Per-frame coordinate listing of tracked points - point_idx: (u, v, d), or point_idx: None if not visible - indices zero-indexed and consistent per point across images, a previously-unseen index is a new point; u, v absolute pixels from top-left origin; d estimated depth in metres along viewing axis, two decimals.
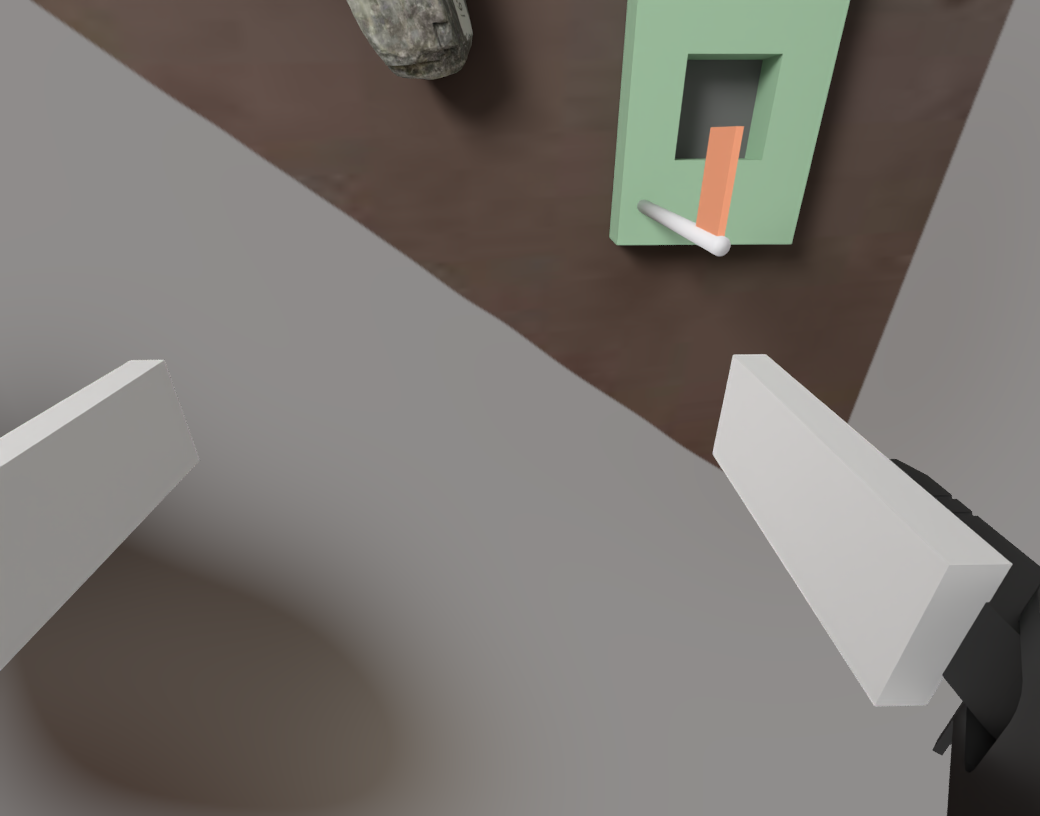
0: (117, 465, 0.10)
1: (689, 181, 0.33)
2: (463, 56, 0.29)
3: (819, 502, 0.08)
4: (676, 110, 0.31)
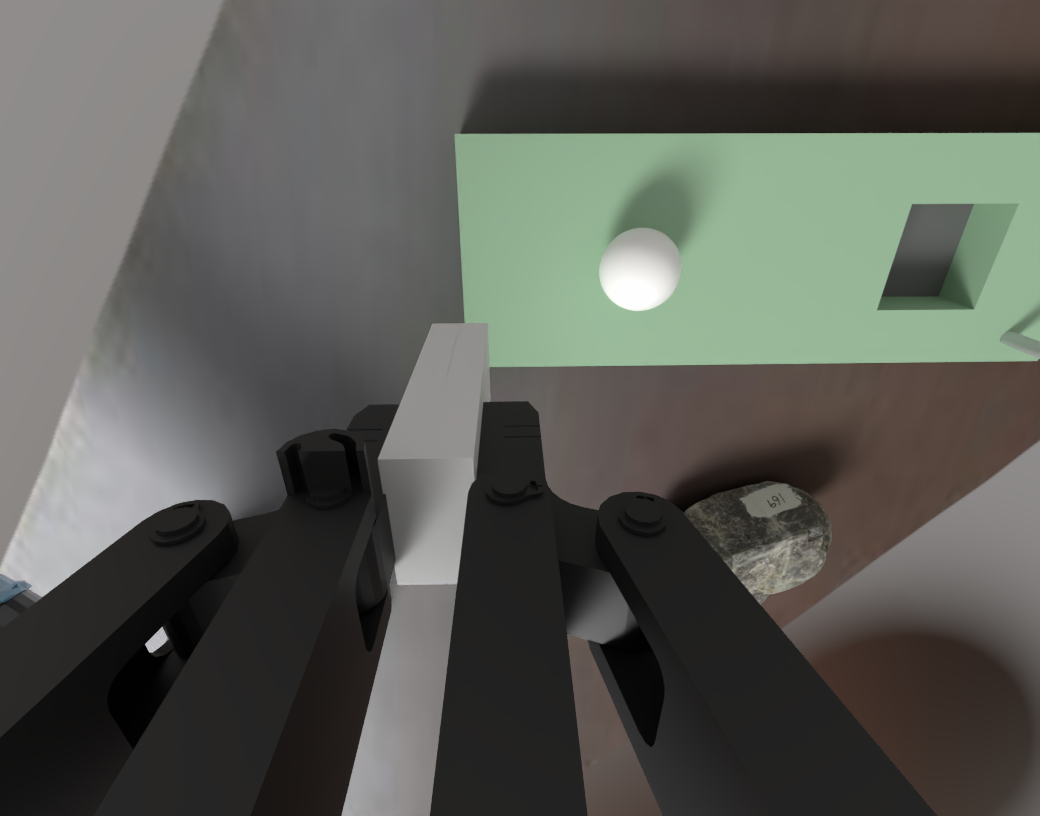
0: None
1: (1004, 289, 0.28)
2: (817, 506, 0.35)
3: None
4: (925, 314, 0.29)
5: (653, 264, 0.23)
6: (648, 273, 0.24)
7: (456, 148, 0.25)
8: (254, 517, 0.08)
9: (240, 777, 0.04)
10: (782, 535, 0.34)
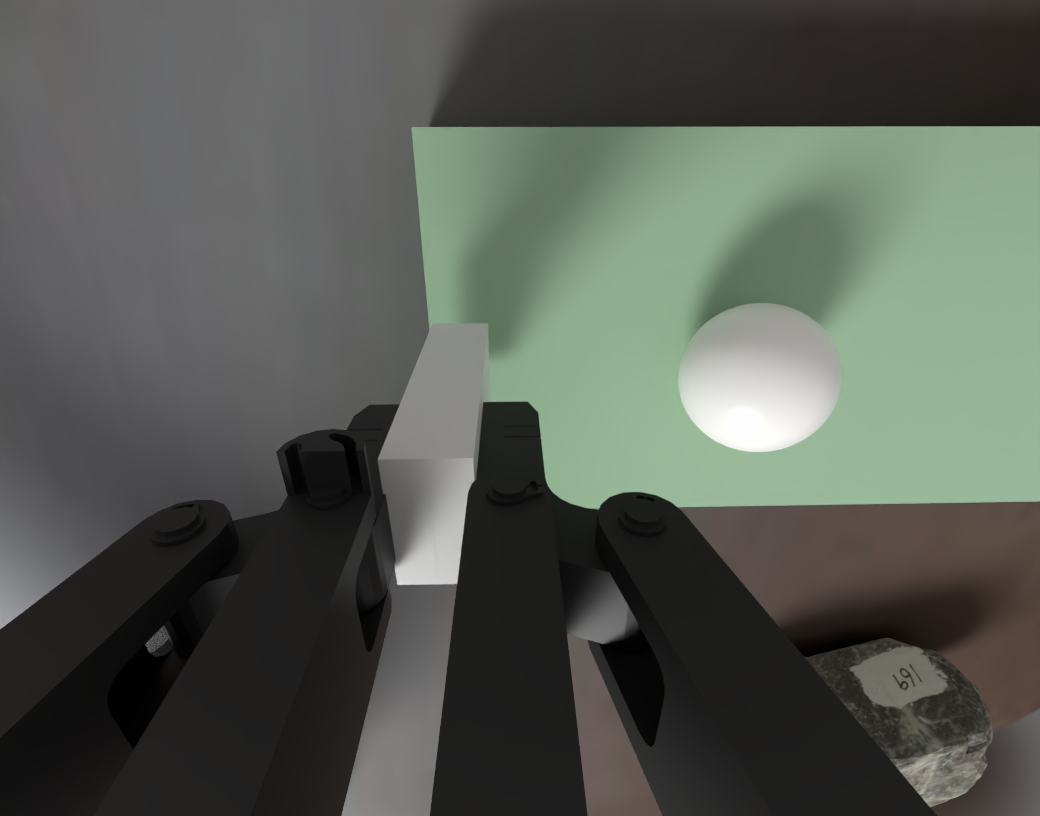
0: None
1: None
2: (972, 691, 0.23)
3: None
4: None
5: (801, 384, 0.12)
6: (790, 401, 0.12)
7: (416, 154, 0.13)
8: (254, 517, 0.08)
9: (240, 777, 0.04)
10: (927, 744, 0.22)
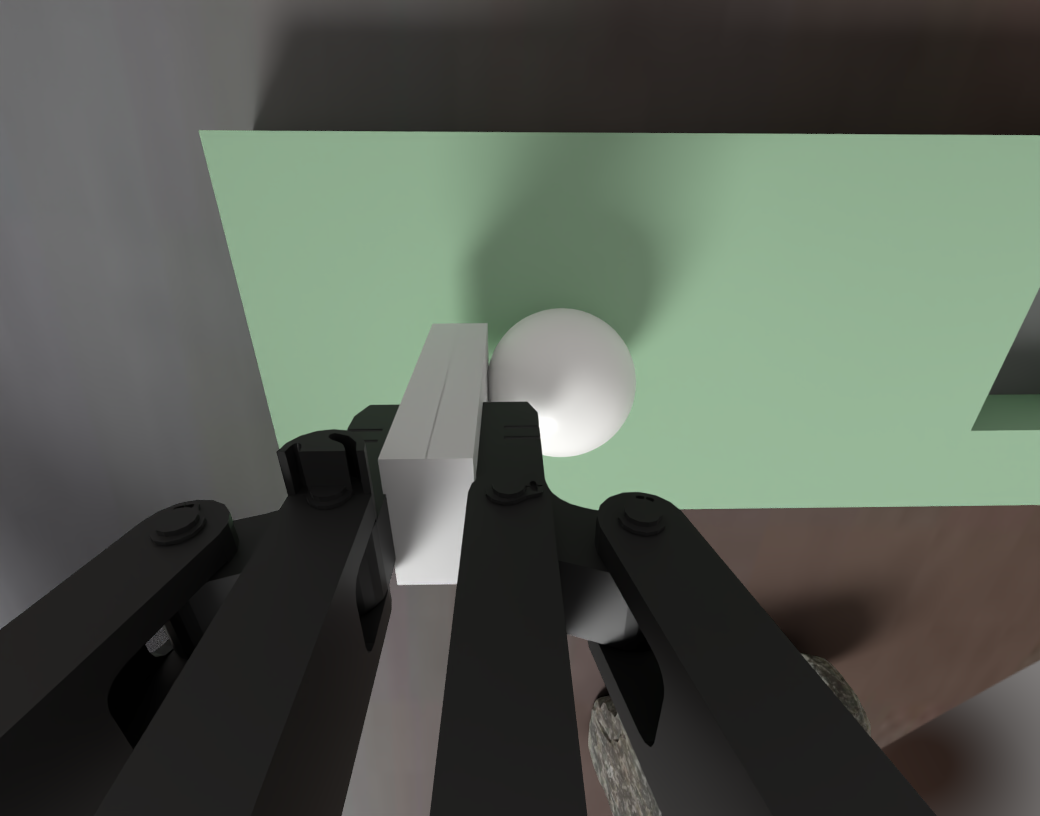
0: None
1: None
2: (851, 699, 0.24)
3: None
4: None
5: (576, 390, 0.12)
6: (565, 407, 0.12)
7: (207, 158, 0.13)
8: (254, 517, 0.08)
9: (242, 776, 0.04)
10: None
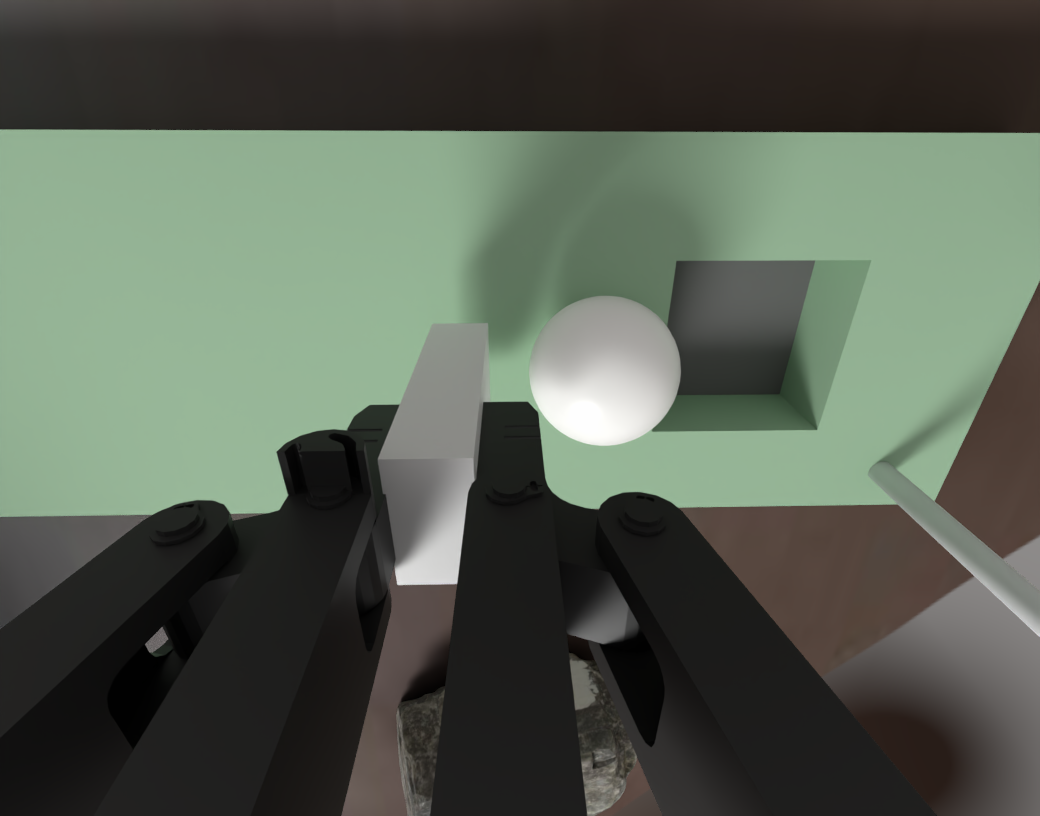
0: None
1: (864, 399, 0.17)
2: None
3: None
4: (735, 437, 0.17)
5: (598, 376, 0.12)
6: (586, 391, 0.12)
7: None
8: (254, 517, 0.08)
9: (241, 778, 0.04)
10: None
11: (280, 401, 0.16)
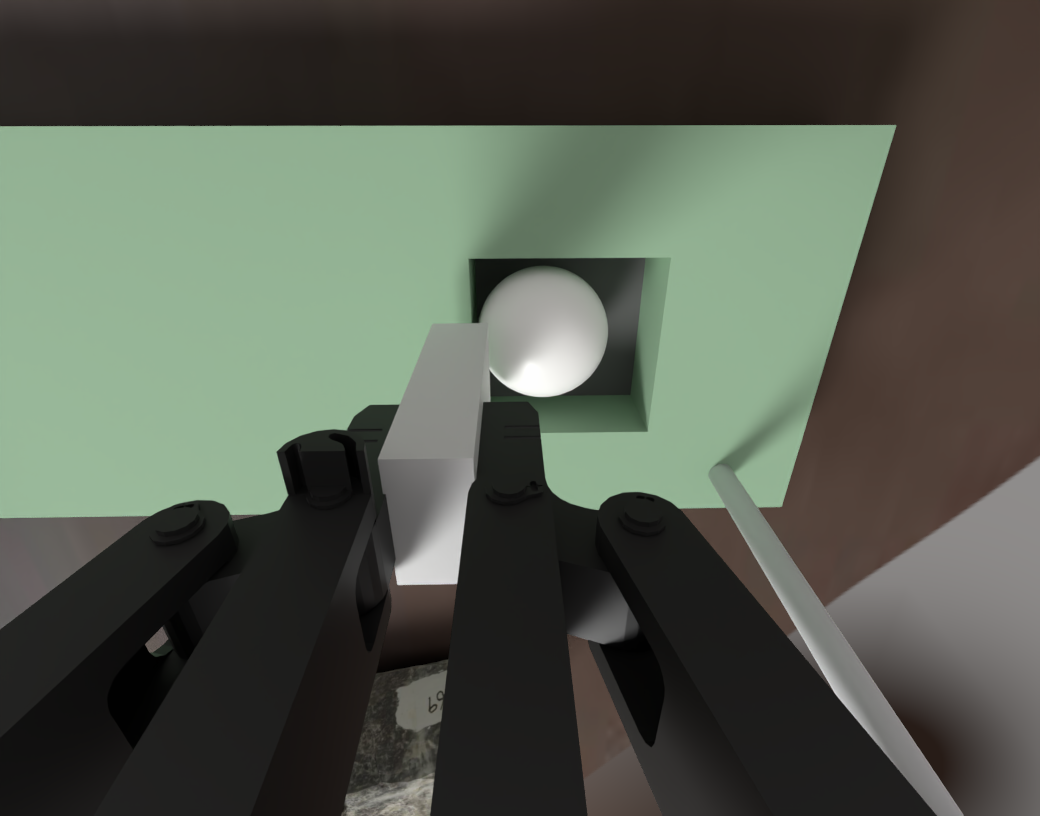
0: None
1: (690, 400, 0.16)
2: None
3: None
4: (564, 439, 0.17)
5: None
6: None
7: None
8: (254, 517, 0.08)
9: (241, 777, 0.04)
10: (420, 769, 0.22)
11: (88, 403, 0.16)
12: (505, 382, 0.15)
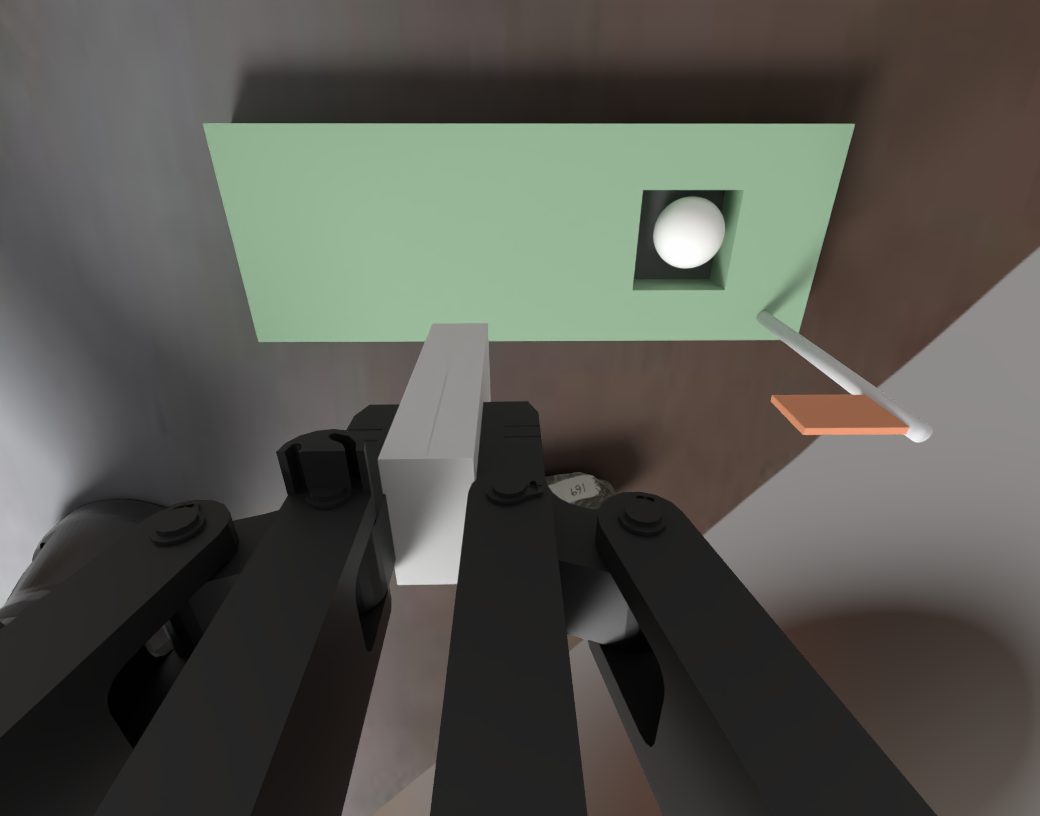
0: None
1: (749, 270, 0.30)
2: None
3: None
4: (679, 294, 0.31)
5: None
6: None
7: (207, 136, 0.27)
8: (254, 517, 0.08)
9: (241, 778, 0.04)
10: None
11: (432, 269, 0.30)
12: (685, 258, 0.29)
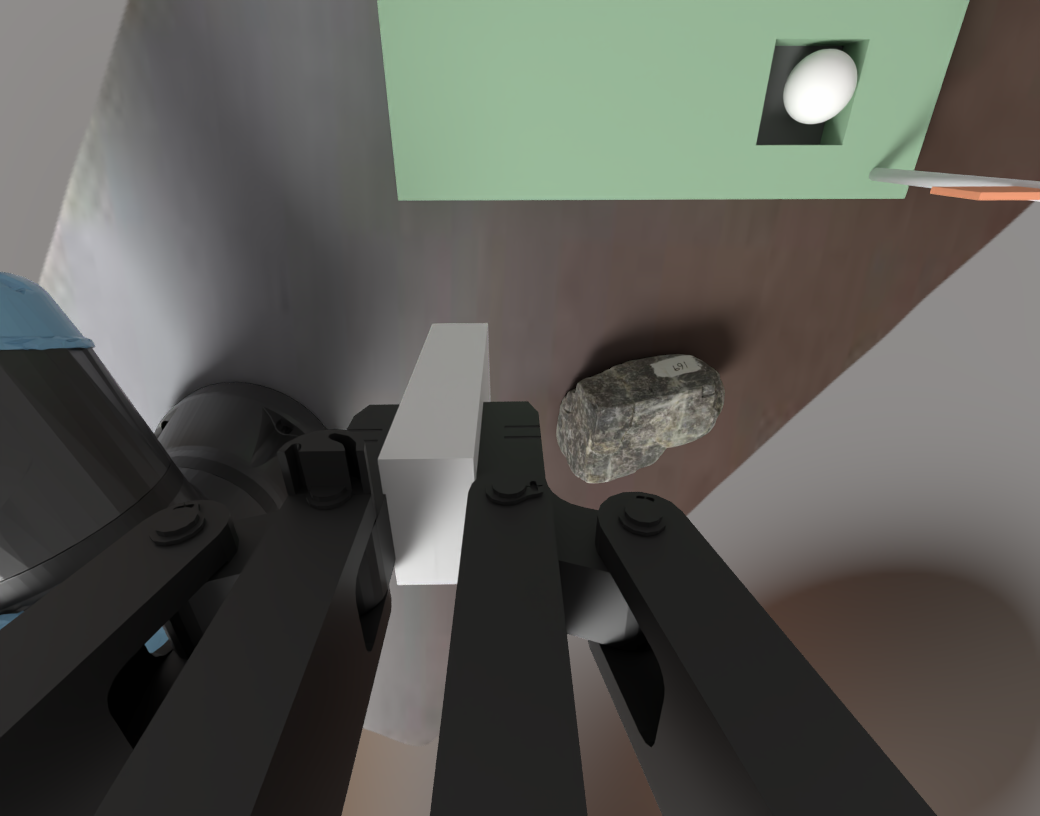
0: None
1: (867, 124, 0.32)
2: (714, 372, 0.40)
3: None
4: (799, 149, 0.33)
5: None
6: None
7: None
8: (254, 517, 0.08)
9: (242, 778, 0.04)
10: (680, 390, 0.39)
11: (570, 123, 0.32)
12: (826, 107, 0.31)
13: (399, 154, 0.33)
